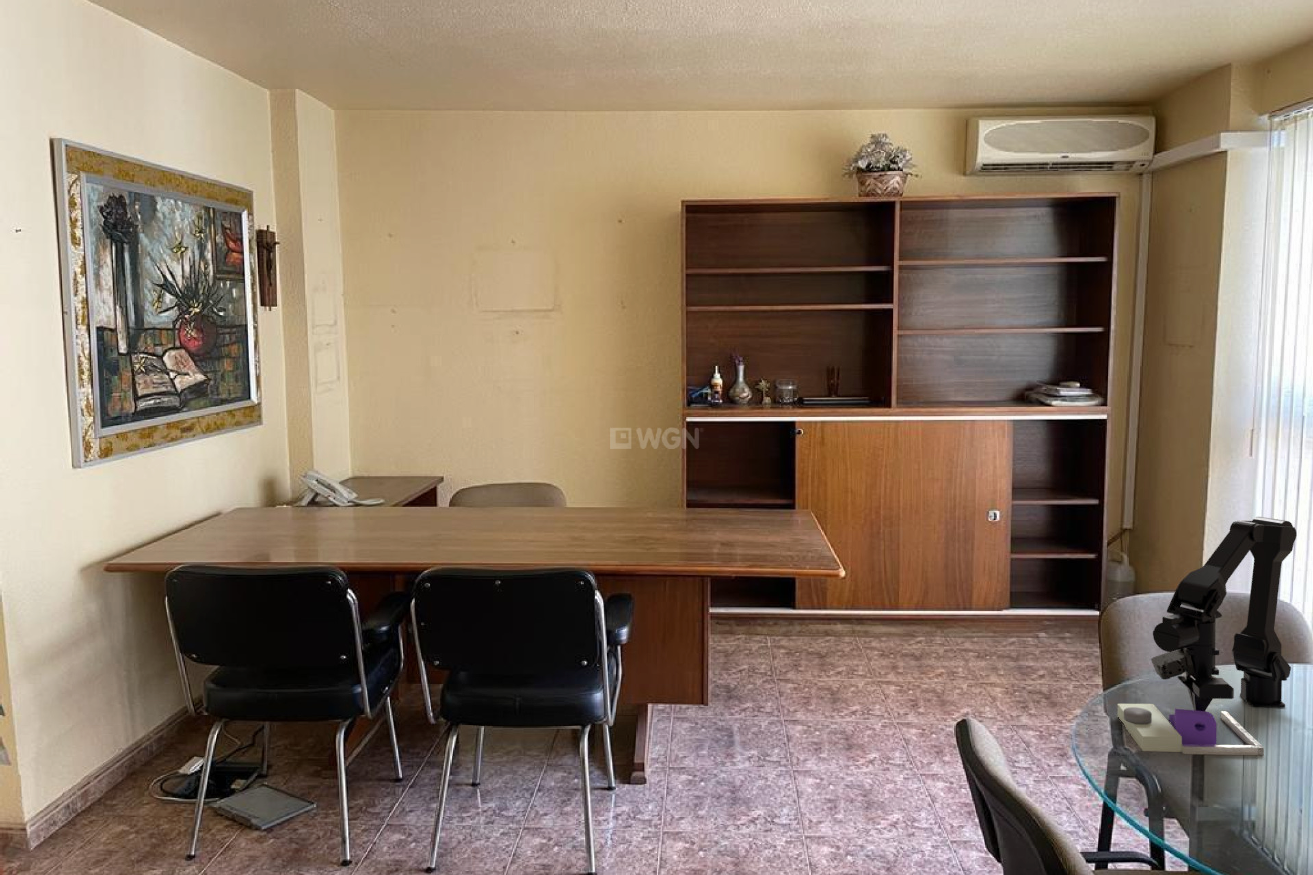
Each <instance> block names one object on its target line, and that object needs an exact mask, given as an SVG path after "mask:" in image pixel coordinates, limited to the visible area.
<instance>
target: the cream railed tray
mask: <svg viewBox="0 0 1313 875" xmlns="http://www.w3.org/2000/svg"><path fill="white" fill-rule="evenodd" d="M1118 717H1119V719H1120V720H1121V721H1122V722H1123V723H1124V725H1125V727H1126V728H1127V729H1126V728H1125V727H1124V728H1125V729H1126V730H1128V731H1127V732H1128V734H1131V735H1130V736H1131V737H1132V739H1133V740H1134V741H1135V742H1136V744H1137V745H1138V747H1139V748H1140V750H1141V751H1142V752H1165V753H1166V752H1169V753H1170V752H1171V753H1172V752H1173V753H1174V752H1179V753H1182V754H1183V755H1218V756H1219V755H1221V756H1224V755H1225V756H1264V753H1265V750H1264V749H1265V748H1264V747H1263V745H1262V744H1260V742H1258V740H1256V738H1255V737H1253V736H1252V735H1251V734H1250V733H1249V732H1248V731H1247V730H1246V729H1245V727H1243V726H1242V725H1241V724H1240V723H1239V722H1238V721H1237V720H1236V719H1235V718H1234V717H1233V716H1231V715H1230V713H1229V712H1228V711H1220V719H1221V720H1222V721H1223V722H1224V723H1225V724H1226V725H1227V726H1228V727H1229V728H1230V729H1231V730H1232V731H1233V732H1234V733H1235V734H1236V735H1237V736H1238V737H1239V738H1240V739H1241V740H1242V741H1243V742H1244V743H1245V744H1240V745H1239V744H1216V745H1193V744H1182V737H1181V735H1180V734H1179V733H1178V732H1177V731H1176V730H1175V728H1174V727H1173V726H1172V725H1171V724H1170V721H1169V719H1168V718H1166V717H1165V716H1164V714H1163V713H1162V712H1161V711H1160V710H1159V708H1158V707H1156V705H1155V704H1154V703H1117V718H1118ZM1119 719H1118V720H1119ZM1120 720H1119V721H1120ZM1121 721H1120V722H1121ZM1124 725H1123V726H1124Z"/></svg>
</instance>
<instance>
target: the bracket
mask: <svg viewBox="0 0 1313 875" xmlns="http://www.w3.org/2000/svg"><path fill="white" fill-rule="evenodd" d="M1169 719H1170V721H1169V723H1170V722H1171V725H1172V726H1173V727H1174V728H1175V730H1176V731H1177V732H1178V733H1179V734H1180V735H1181V737H1182V744H1193V745H1217V736H1218V735H1217V733H1218V732H1217V727H1218V726H1217V721H1216V719H1215V716H1214V715H1213V714H1212V713H1211V712H1209V711H1207V710H1206V711H1196V710H1194V709H1183V708H1175V709H1174V714H1168V720H1169Z"/></svg>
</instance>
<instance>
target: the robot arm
mask: <svg viewBox="0 0 1313 875" xmlns="http://www.w3.org/2000/svg"><path fill="white" fill-rule="evenodd" d="M1297 536H1298V535H1297V529H1296V527H1294V526H1293V523H1292V522H1291V521H1289V520H1285V519H1276V518H1270V517H1266V516H1256V517H1254V518H1253V519H1252V520H1237V521H1236V520H1235V521H1233V522H1231V524H1230V527H1229V531H1228V532H1227V534H1226V535H1225V537H1224V538H1223V539H1222V541H1221V542H1220V543H1219V544H1218V546H1217V547H1216V549H1215V550H1214V551H1213V553H1212V554H1211V555H1210V557H1209V558H1208V560H1206V562H1205V564H1203V565H1202V567H1200V568H1197V569H1196V570H1193V571H1190V572H1188V573H1187V575H1186V576H1185V577H1183V579H1181V581H1180V582H1179V584H1177V587H1176V589H1175V591H1174V593H1173V596H1172V598H1171V599H1170V602H1169V604H1168V607H1167V609H1166V613H1168V614H1171V615H1165V616H1162V622H1160V623H1158V624H1156V626H1155V627H1154V629H1153V631H1152V636H1153V637H1152V638H1153V640H1154V642H1155V644H1156V645H1157V647H1158V648H1159V649H1161V650H1162V651H1164V652H1165V653H1162V654H1159V655H1156V656H1153V657H1152V658H1151V659H1150V661H1151V663H1152V665H1153V668H1154V670H1155V673H1156V674H1157V675H1158V676H1159V678H1161V679H1162V680H1169V679H1171V678H1174V677H1177V680H1179V681H1180V682H1181V683H1182V684H1183V685H1184V686H1185V687H1186V688H1187V691H1188V694H1189V698H1190V701H1191V702H1190V703H1191V705H1192V708H1193V709H1192V710H1196V711H1206V712H1207V709H1208V708H1209V705H1211V702H1212V701H1213V700H1216V699H1217V700H1219V699H1220V700H1223V699H1224V700H1232V699H1234V696H1235V689H1234V688H1235V687H1233V686H1231V685H1230V684H1229V683H1228V682H1227V681H1226V680H1225V679H1224V678H1223V677H1216V676H1220V669H1218V667H1216V656H1219V655H1220V649H1219V648H1217V647H1216V631H1217V630H1216V628H1217V627H1216V622H1217V621H1216V620H1217V619H1219V618H1222V617H1223V614H1222V613H1221V612H1220V611H1218V609H1219V608H1220V607H1221V605H1222V604H1223V601H1224V599H1225V598H1226V596H1227V583H1228V581H1229V579H1230V578H1231V576H1233V574H1234V572H1236V570H1237V569H1238V567H1239V566H1240V564H1241V563H1242V562H1243V560H1244V559H1245V558H1246V556H1247V555H1248V554H1249V552H1250V553H1251V555H1252V557H1253V568H1252V576H1251V583H1250V590H1249V591H1250V594H1249V601H1248V602H1249V603H1248V610H1247V619H1246V625H1245V627H1244V628H1243V629H1242V630H1241V631H1240V632H1236V633H1235V634H1234V636H1233V646H1232V648H1231V649H1232V650H1231V651H1232V658H1233V661H1234V664H1235V670H1236V671H1239V672H1243V677H1242V678H1240V693H1239V697H1241V698H1242V699H1243V700H1244V701H1245V702H1246V703H1247V704H1249V705H1250V706H1251V707H1255V708H1259V707H1260V708H1285V707H1286V704H1285V703H1284V702H1283V700H1282V695H1283V693H1282V692H1283V691H1282V689H1283V682H1286V681H1288V678H1290V676H1291V671H1292V668H1291V666H1290V664H1289V663H1288V662H1287V660H1286V659H1285V658H1284V657H1283V655H1282V643H1281V640H1280V639H1279V637H1278V636H1277V632H1276V631H1275V624H1276V615H1277V607H1278V599H1279V589H1280V580H1281V579H1280V578H1281V571H1282V565H1283V564H1282V563H1283V561H1285V559H1287V557H1288V556H1290V554H1291V553H1292V552H1293V548H1294V545H1295V541H1296V539H1297ZM1188 607H1189V608H1188Z"/></svg>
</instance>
